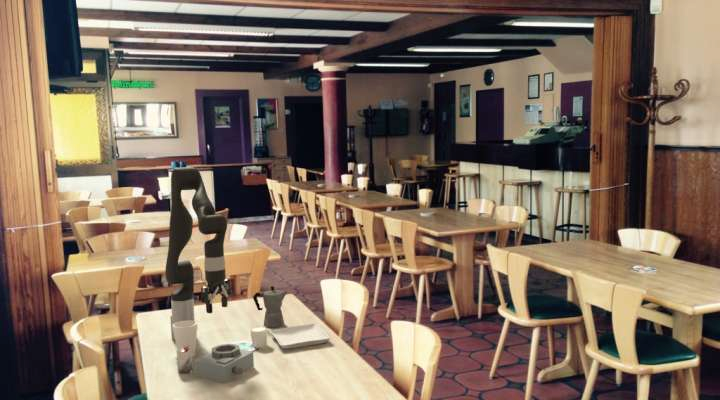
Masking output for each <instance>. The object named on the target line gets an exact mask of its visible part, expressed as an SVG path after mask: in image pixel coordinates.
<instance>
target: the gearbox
mask: <svg viewBox="0 0 720 400" xmlns="http://www.w3.org/2000/svg"><path fill="white" fill-rule="evenodd" d="M254 360H255V359H254V351H250V350H246V349H240V345H239V344H235V343H222V344H218V345H216V346H214V347H212V348H211V352H209V353H207V354H205V355H202V356H200V357H199V358H198V357H197V358H196V359H194V371H195V373H194V374H195V377H197V378H202V379H207V380H211V381H216V382H221V383H223V384H224V383H225V384H226V383H228V382H229V381H231V380H233V379H235V378H236V377H238V376H242V374H244V373H246V372H248V371H250V370H252V369H254V368H255V364H254V363H255V361H254Z"/></svg>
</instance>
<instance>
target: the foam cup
mask: <svg viewBox="0 0 720 400" xmlns="http://www.w3.org/2000/svg"><path fill="white" fill-rule="evenodd" d="M173 332H174V336H175V345H176V346H175V347H176V351H177V350H178V349H181V348H184V347H188V348H191V353H192V358H193V357H195V356H196V347H197V336H198V335H197V334H198V322H197V321H196V320H195V321H192V320H186V321H179V322H176V323H174V324H173Z"/></svg>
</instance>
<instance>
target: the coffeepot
mask: <svg viewBox="0 0 720 400" xmlns="http://www.w3.org/2000/svg"><path fill="white" fill-rule="evenodd" d="M287 294H288V292H287V291H286V290H285V291H283V290H279V289H275V286H274V285H272V286H270V290H265V291H260V292H259V291H258V292H255V294H254V295H253V296H252V299H253V302H254V303H255V306H256V308H257V311H263V309H264V308H265V312H264V318H263V319H264V320H263V327H266V328H267V329H268V328H269V329H278V328H280V327H281V328H282V327H283V326H284V324H285V319H284V316H283V311H282V308H281V307H282V305H283V301H284V299H285V296H286V295H287ZM258 298H262V299H263V305H264V308H263V307H260V303H259V299H258Z"/></svg>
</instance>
